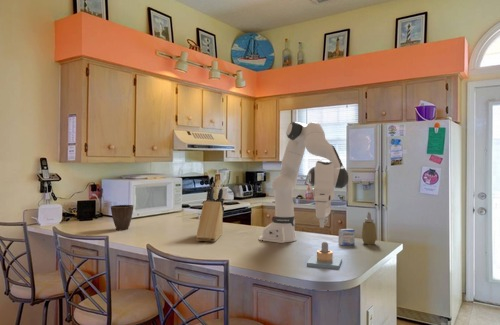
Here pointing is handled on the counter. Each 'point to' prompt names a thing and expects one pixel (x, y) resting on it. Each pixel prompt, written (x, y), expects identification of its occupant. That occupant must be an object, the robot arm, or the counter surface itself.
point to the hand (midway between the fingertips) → (323, 225)
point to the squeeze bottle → (369, 231)
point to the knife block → (211, 217)
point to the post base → (333, 265)
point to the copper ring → (324, 256)
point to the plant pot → (122, 216)
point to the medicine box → (346, 237)
